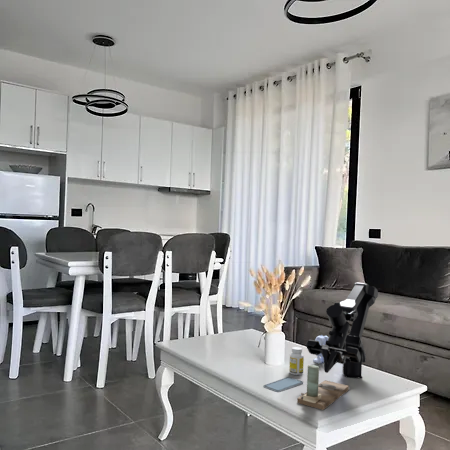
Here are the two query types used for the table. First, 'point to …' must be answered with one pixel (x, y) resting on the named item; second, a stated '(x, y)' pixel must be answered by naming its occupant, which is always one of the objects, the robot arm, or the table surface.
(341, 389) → the stepped wooden base
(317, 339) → the toy figurine
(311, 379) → the pale green upright block
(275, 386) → the smartphone
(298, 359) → the supplement bottle
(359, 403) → the table surface
